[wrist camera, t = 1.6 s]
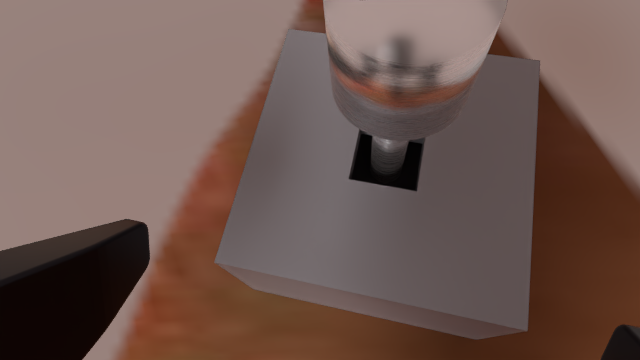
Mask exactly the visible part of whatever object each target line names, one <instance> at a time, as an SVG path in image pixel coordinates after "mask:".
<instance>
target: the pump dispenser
mask: <svg viewBox="0 0 640 360" xmlns="http://www.w3.org/2000/svg"><path fill="white" fill-rule="evenodd" d="M539 72H540V61H539V60H531V59H523V58H515V57H507V56H499V55H491V54H487V56H486V58H485V60H484V63H483V65H482V67H481V70H480V72H479V74H478V77H477V79H476V81H475V84H474V86H473V89H472V91H471V93H470V96H469V98H468V100H467V103H466V105H465V107H464V108H463V110H462V112H461V113H460V114H459V116H458V117H457V118H456V119H455V120H454V121H453V122H452V123H451V124H450V125H449V126H447V127H446V128H444V129H443V130H441V131H439V132H437V133H435V134H433V135H430V136H428V137H425V138H421V139H416V140H409V142H408V146H407V150H406V155H405V159H404V163H403V167H402V171H401V175H400V176H399V178H398V179H397V180H395V181H394V182H391V183H381V182H379V181H377V180H376V179H374V177H373V176H372V174H371V172H370V163H371V149H372V135H370V134H368V133H366V132H364V131H362V130H360V129H359V128H357V127H355V126H354V125H353V124H352V123H351V122H349V121H348V120H347V119H346V118H345V117H344V115H343V114H342V113H341V111H340V110H339V108H338V107H337V105H336V103H335V101H334V97H333V94H332V88H331V79H330V68H329V57H328V47H327V36H326V34H324V33H316V32H308V31H300V30H292V29H288V32H287V35H286V39H285V42H284V45H283V48H282V51H281V54H280V57H279V61H278V64H277V67H276V70H275V73H274V76H273V79H272V83H271V86H270V89H269V92H268V95H267V98H266V101H265V105H264V108H263V111H262V114H261V117H260V120H259V123H258V127H257V130H256V133H255V136H254V139H253V142H252V145H251V149H250V152H249V155H248V158H247V161H246V164H245V167H244V171H243V174H242V177H241V180H240V183H239V186H238V189H237V193H236V196H235V199H234V202H233V205H232V208H231V211H230V215H229V218H228V221H227V224H226V227H225V230H224V233H223V237H222V240H221V243H220V246H219V249H218V252H217V255H216V259H215V263H216V264H218V265H219V266H221V267H222V268H224V269H225V270H226V271H228V272H229V273H231V274H232V275H234V276H235V277H237V278H238V279H240V280H241V281H242V282H244V283H245V284H247V285H248V286H250V287H251V288H253V289H254V290H259V291H263V292H268V293H272V294H277V295H281V296H285V297H290V298H294V299H299V300H303V301H307V302H312V303H316V304H321V305H325V306H329V307H334V308H338V309H343V310H347V311H351V312H356V313H360V314H365V315H369V316H373V317H378V318H382V319H387V320H391V321H395V322H400V323H404V324H409V325H413V326H417V327H422V328H426V329H431V330H435V331H440V332H444V333H448V334H453V335H457V336H462V337H466V338H470V339H475V340H478V339H484V338H490V337H496V336H502V335H507V334H513V333H519V332H525V331H528V312H529V291H530V269H531V247H532V225H533V203H534V182H535V160H536V138H537V116H538V94H539Z"/></svg>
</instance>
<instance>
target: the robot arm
mask: <svg viewBox="0 0 640 360" xmlns="http://www.w3.org/2000/svg"><path fill="white" fill-rule="evenodd" d="M149 260H150V251H149V235H148V227H147V225H146V224H145V223H143V222H139V221H134V220H130V219H124V220H120V221H116V222H113V223H109V224H104V225H101V226H97V227H93V228H89V229H85V230H81V231H77V232H73V233H69V234H65V235H61V236H57V237H53V238H49V239H46V240H42V241H38V242H34V243H30V244H26V245H22V246H18V247H14V248H10V249H6V250H2V251H0V360H82V359H83V358H84V357H85V356H86V354H87V353H88V352H89V351H90V349H91V348H92V347H93V346H94V345H95V343H96V342H97V341H98V339H99V338H100V337H101V335H102V334H103V333H104V332H105V330H106V329H107V328H108V326H109V325H110V323H111V322H112V321H113V319H114V318H115V316H116V315H117V313H118V311H119V310H120V308H121V307H122V305H123V304H124V302H125V301H126V299H127V298H128V296H129V295H130V293H131V292H132V290H133V289H134V287H135V285H136V284H137V282H138V281H139V279H140V278H141V276H142V275H143V273H144V272H145V270H146V268H147V266H148V264H149ZM601 360H640V328H639V327H635V326H630V325H625V324H623V325H620V326H618V327H617V328H616V329H615V331H614V332H613V335H612V337H611V339H610V341H609V343H608V345H607V347H606V349H605V351H604V353H603V355H602V358H601Z"/></svg>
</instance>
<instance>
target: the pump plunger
mask: <svg viewBox="0 0 640 360" xmlns="http://www.w3.org/2000/svg"><path fill="white" fill-rule="evenodd" d="M507 1H508V0H323V4H324V14H325V25H326V36H327V47H328V57H329V68H330V79H331V88H332V94H333V97H334V101H335V103H336V105H337V107H338V108H339V110H340V111H341V113H342V114H343V115H344V117H345V118H346V119H347V120H348V121H349V122H351V123H352V124H353V125H354V126H355V127H357V128H359V129H360V130H362V131H364V132H366V133H368V134H370V135H372V149H371V163H370V172H371V174H372V176H373V177H374V179H376V180H377V181H379V182H381V183H391V182H394V181H395V180H397V179H398V178H399V176H400V175H401V171H402V167H403V163H404V159H405V155H406V150H407V146H408V142H409V140H416V139H421V138H425V137H428V136H430V135H433V134H435V133H437V132H439V131H441V130H443V129H444V128H446V127H447V126H449V125H450V124H451V123H452V122H453V121H454V120H455V119H456V118H457V117H458V116H459V114H460V113H461V112H462V110H463V108H464V107H465V105H466V103H467V100H468V98H469V96H470V93H471V91H472V89H473V86H474V84H475V81H476V79H477V77H478V74H479V72H480V70H481V67H482V65H483V63H484V60H485V58H486V56H487V53H488V51H489V49H490V46H491V44H492V42H493V39H494V37H495V35H496V32H497V30H498V28H499V25H500V23H501V21H502V18H503V15H504V13H505V10H506V6H507Z"/></svg>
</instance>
